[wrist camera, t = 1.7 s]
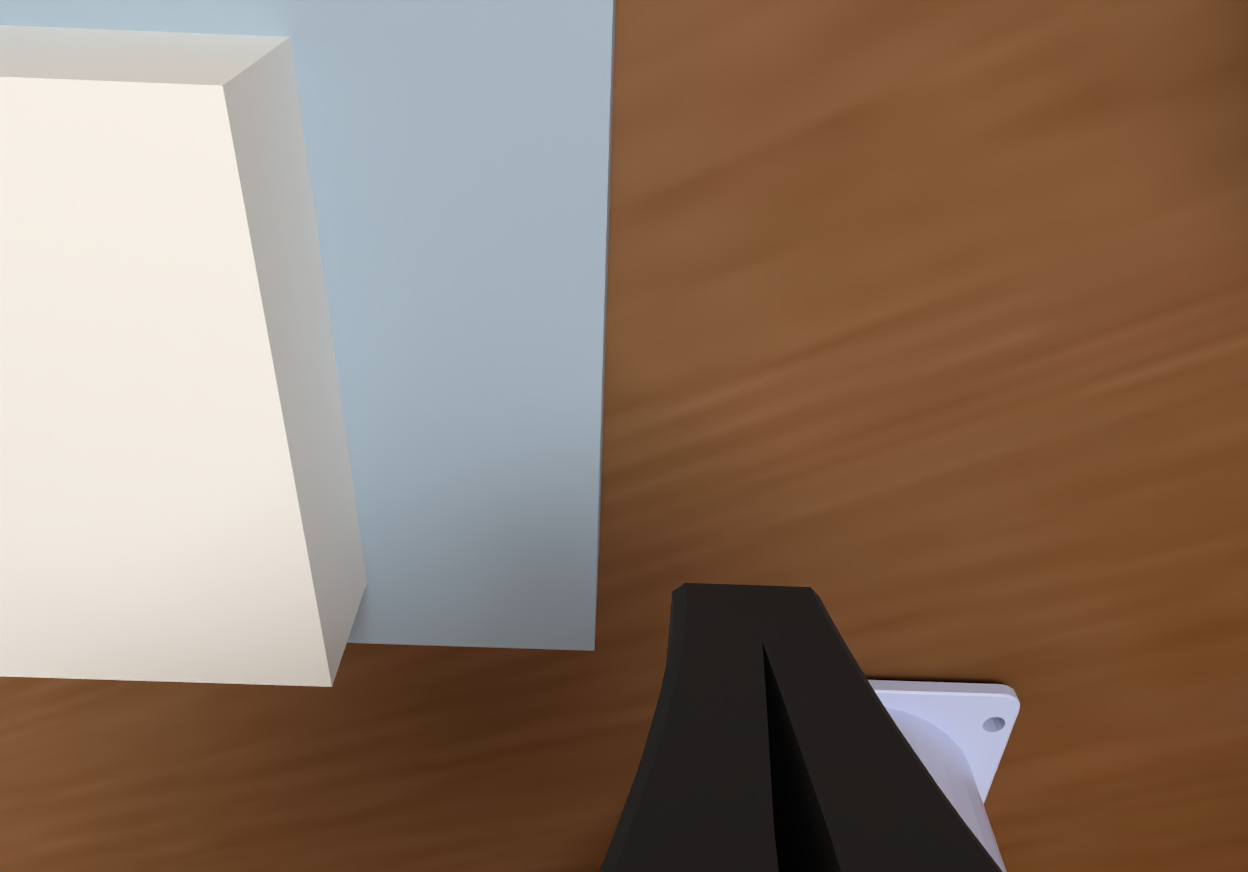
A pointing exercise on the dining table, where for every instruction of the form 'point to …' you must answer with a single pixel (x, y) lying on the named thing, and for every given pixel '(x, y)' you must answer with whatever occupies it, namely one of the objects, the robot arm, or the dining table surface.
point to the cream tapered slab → (166, 368)
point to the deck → (451, 289)
